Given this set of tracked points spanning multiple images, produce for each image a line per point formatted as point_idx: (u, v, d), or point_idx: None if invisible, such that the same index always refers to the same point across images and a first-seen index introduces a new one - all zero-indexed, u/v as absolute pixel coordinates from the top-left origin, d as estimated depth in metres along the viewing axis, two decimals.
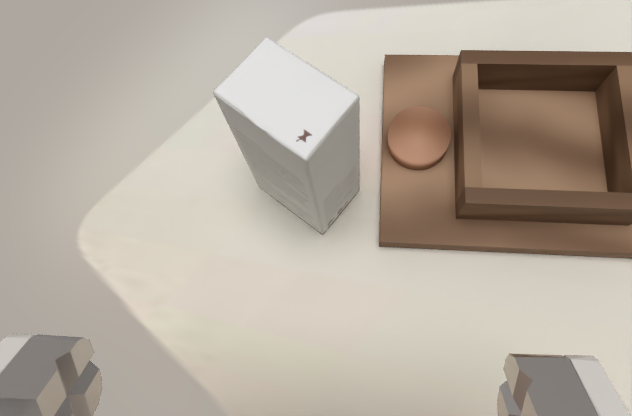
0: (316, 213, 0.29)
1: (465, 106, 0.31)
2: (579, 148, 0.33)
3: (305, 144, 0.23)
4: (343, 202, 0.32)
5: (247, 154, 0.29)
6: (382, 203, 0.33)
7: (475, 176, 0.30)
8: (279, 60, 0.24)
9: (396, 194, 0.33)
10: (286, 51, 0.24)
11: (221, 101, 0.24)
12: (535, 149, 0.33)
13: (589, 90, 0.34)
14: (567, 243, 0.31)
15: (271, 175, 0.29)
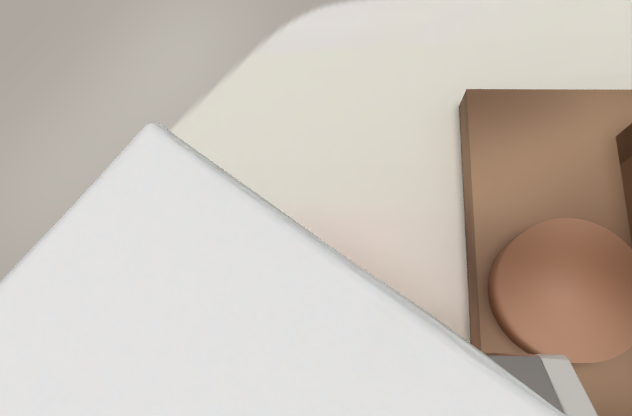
0: None
1: None
2: None
3: None
4: None
5: None
6: None
7: None
8: (203, 241, 0.05)
9: None
10: (235, 193, 0.05)
11: None
12: None
13: None
14: None
15: None
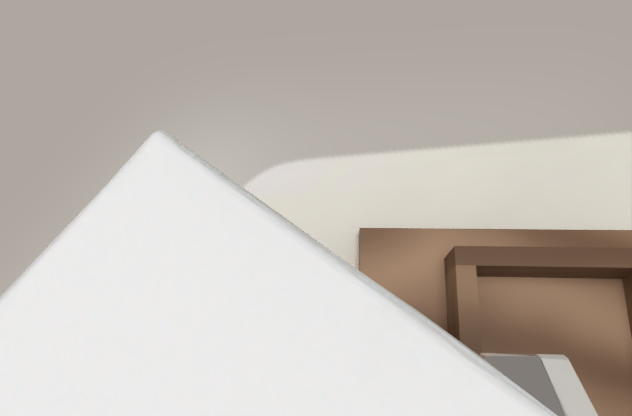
0: None
1: (463, 329, 0.24)
2: (606, 360, 0.26)
3: None
4: None
5: None
6: None
7: None
8: (208, 246, 0.05)
9: None
10: (240, 200, 0.06)
11: None
12: None
13: (615, 278, 0.27)
14: None
15: None
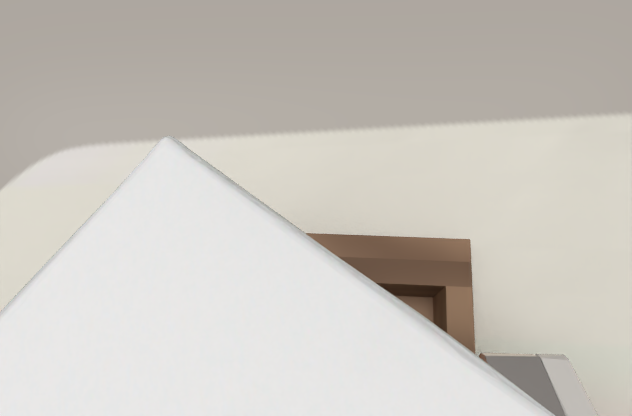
0: None
1: None
2: None
3: None
4: None
5: None
6: None
7: None
8: (215, 249, 0.06)
9: None
10: (246, 204, 0.06)
11: None
12: None
13: (424, 296, 0.22)
14: None
15: None
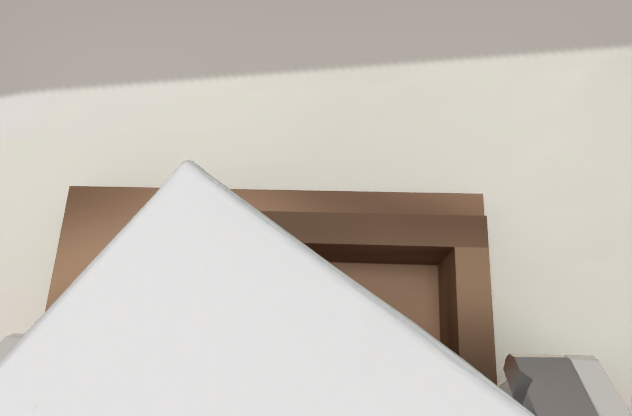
0: None
1: None
2: None
3: None
4: None
5: None
6: None
7: None
8: (231, 263, 0.06)
9: None
10: (257, 222, 0.06)
11: None
12: None
13: (426, 264, 0.18)
14: None
15: None
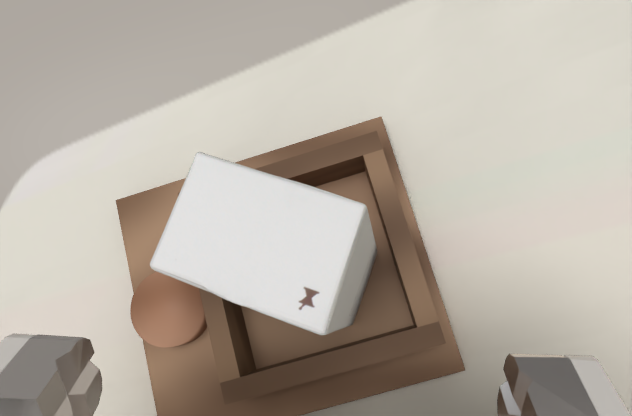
0: None
1: None
2: None
3: (315, 310, 0.15)
4: (366, 283, 0.25)
5: None
6: (156, 400, 0.27)
7: (229, 364, 0.23)
8: (229, 185, 0.16)
9: (169, 383, 0.27)
10: (234, 167, 0.16)
11: (167, 275, 0.16)
12: None
13: (358, 172, 0.27)
14: (375, 385, 0.25)
15: None
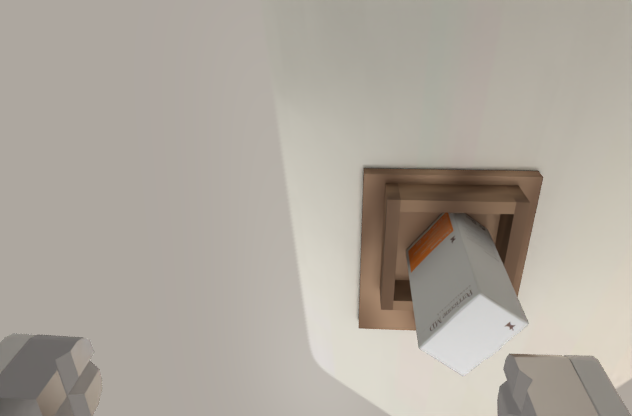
0: (499, 258, 0.38)
1: None
2: None
3: (517, 325, 0.31)
4: (472, 224, 0.40)
5: None
6: None
7: None
8: (442, 341, 0.32)
9: None
10: (434, 337, 0.32)
11: None
12: None
13: None
14: (527, 227, 0.41)
15: None
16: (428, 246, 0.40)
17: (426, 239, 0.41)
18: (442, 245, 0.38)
